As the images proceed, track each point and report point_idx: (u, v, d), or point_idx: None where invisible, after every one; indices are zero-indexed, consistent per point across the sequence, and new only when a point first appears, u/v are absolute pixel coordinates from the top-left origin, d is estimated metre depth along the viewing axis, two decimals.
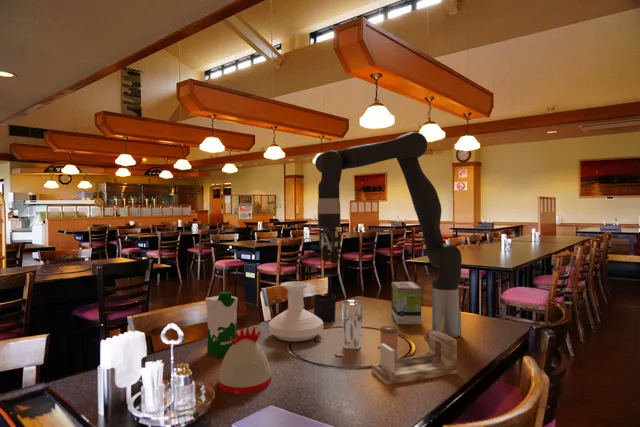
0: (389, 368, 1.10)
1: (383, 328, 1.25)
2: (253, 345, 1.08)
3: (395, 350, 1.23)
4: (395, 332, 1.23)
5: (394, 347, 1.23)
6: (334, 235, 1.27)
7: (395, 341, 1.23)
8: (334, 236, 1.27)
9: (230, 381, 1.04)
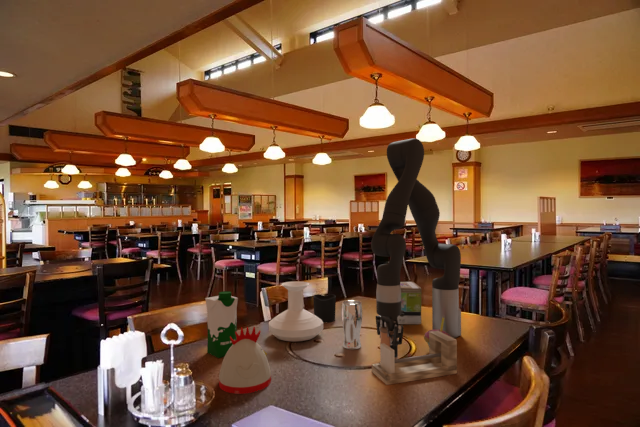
0: (389, 368, 1.10)
1: (383, 328, 1.25)
2: (253, 345, 1.08)
3: None
4: None
5: None
6: (397, 331, 1.18)
7: None
8: (397, 332, 1.18)
9: (230, 381, 1.04)
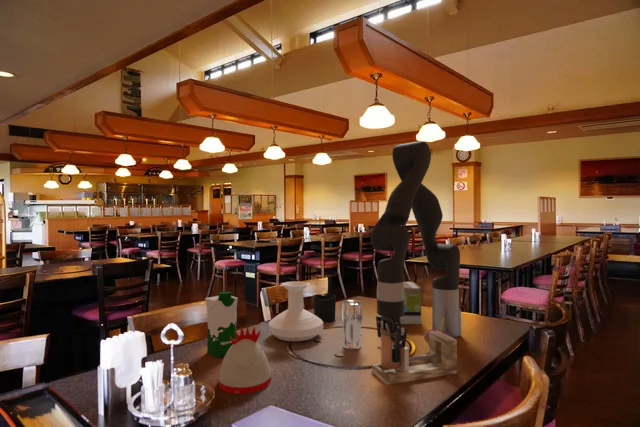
0: (403, 366, 1.11)
1: (384, 330, 1.13)
2: (253, 345, 1.08)
3: None
4: None
5: None
6: (400, 334, 1.06)
7: None
8: (400, 335, 1.06)
9: (230, 381, 1.04)
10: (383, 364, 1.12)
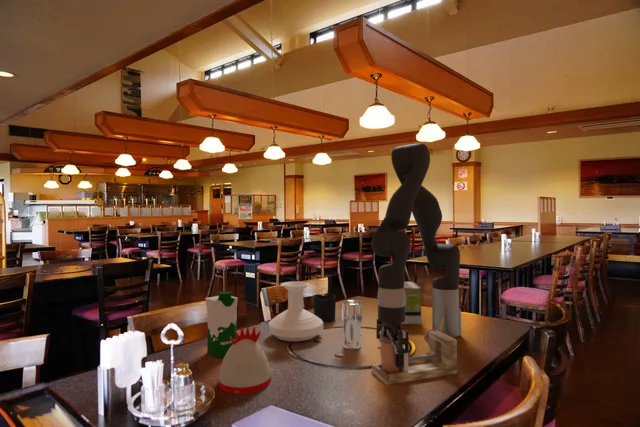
0: (403, 366, 1.11)
1: (384, 337, 1.12)
2: (254, 345, 1.08)
3: None
4: None
5: None
6: (401, 336, 1.06)
7: None
8: (401, 337, 1.06)
9: (230, 381, 1.04)
10: None
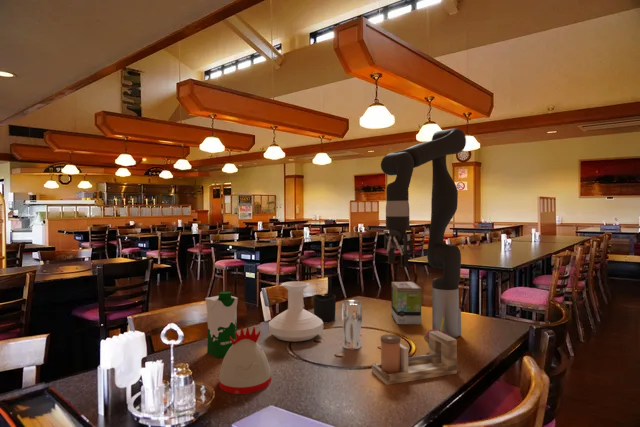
0: (403, 366, 1.11)
1: (384, 337, 1.12)
2: (253, 345, 1.08)
3: (397, 362, 1.11)
4: (397, 342, 1.11)
5: (396, 359, 1.10)
6: (406, 238, 1.24)
7: (397, 352, 1.11)
8: (406, 239, 1.24)
9: (230, 381, 1.04)
10: None
